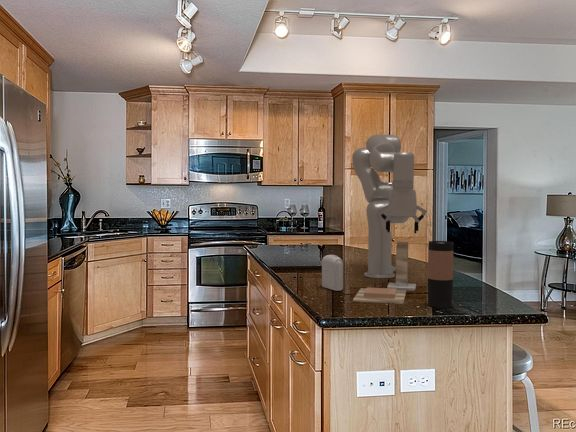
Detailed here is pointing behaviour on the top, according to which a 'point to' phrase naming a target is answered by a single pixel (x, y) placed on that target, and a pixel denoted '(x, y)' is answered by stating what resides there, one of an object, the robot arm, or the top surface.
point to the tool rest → (409, 287)
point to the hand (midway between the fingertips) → (401, 232)
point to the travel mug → (440, 274)
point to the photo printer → (332, 272)
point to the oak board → (398, 298)
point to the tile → (380, 293)
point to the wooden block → (402, 264)
